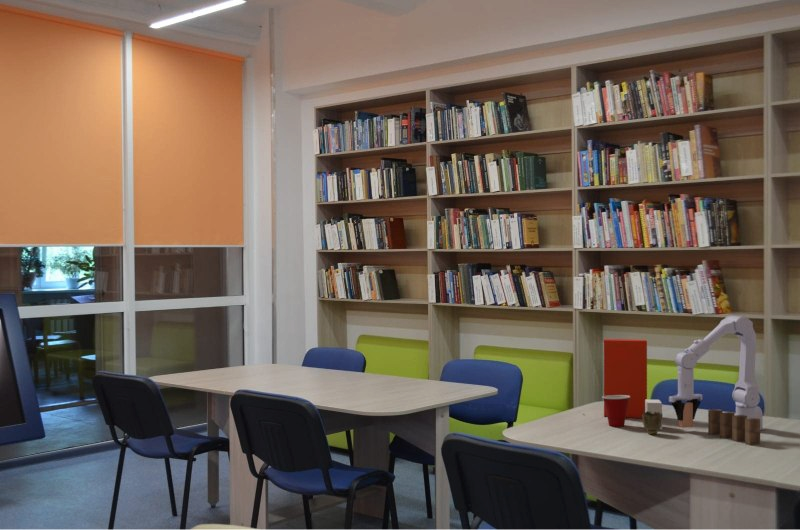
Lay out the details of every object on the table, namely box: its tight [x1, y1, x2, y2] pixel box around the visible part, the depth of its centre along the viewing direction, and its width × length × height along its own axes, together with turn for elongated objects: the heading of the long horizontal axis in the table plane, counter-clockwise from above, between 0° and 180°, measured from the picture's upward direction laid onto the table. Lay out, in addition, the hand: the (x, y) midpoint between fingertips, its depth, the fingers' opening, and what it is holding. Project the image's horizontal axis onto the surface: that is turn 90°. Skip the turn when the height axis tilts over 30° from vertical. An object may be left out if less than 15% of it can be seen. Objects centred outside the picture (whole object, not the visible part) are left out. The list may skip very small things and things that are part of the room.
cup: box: [641, 411, 663, 436], centre depth 304 cm, size 8×7×8 cm
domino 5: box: [744, 418, 761, 446], centre depth 288 cm, size 5×2×9 cm, turn 112°
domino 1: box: [678, 401, 694, 428], centre depth 309 cm, size 5×2×9 cm, turn 112°
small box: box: [645, 398, 663, 431], centre depth 316 cm, size 8×6×10 cm
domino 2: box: [707, 408, 724, 436], centre depth 304 cm, size 5×2×9 cm, turn 112°
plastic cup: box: [601, 395, 630, 428], centre depth 320 cm, size 11×11×12 cm
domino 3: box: [719, 411, 736, 439], centre depth 299 cm, size 5×2×9 cm, turn 112°
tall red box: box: [603, 338, 648, 419], centre depth 340 cm, size 8×17×32 cm, turn 76°
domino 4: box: [731, 414, 747, 443], centre depth 293 cm, size 5×2×9 cm, turn 112°
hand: (685, 419), depth 309 cm, fingers closed on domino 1, 5 cm apart
